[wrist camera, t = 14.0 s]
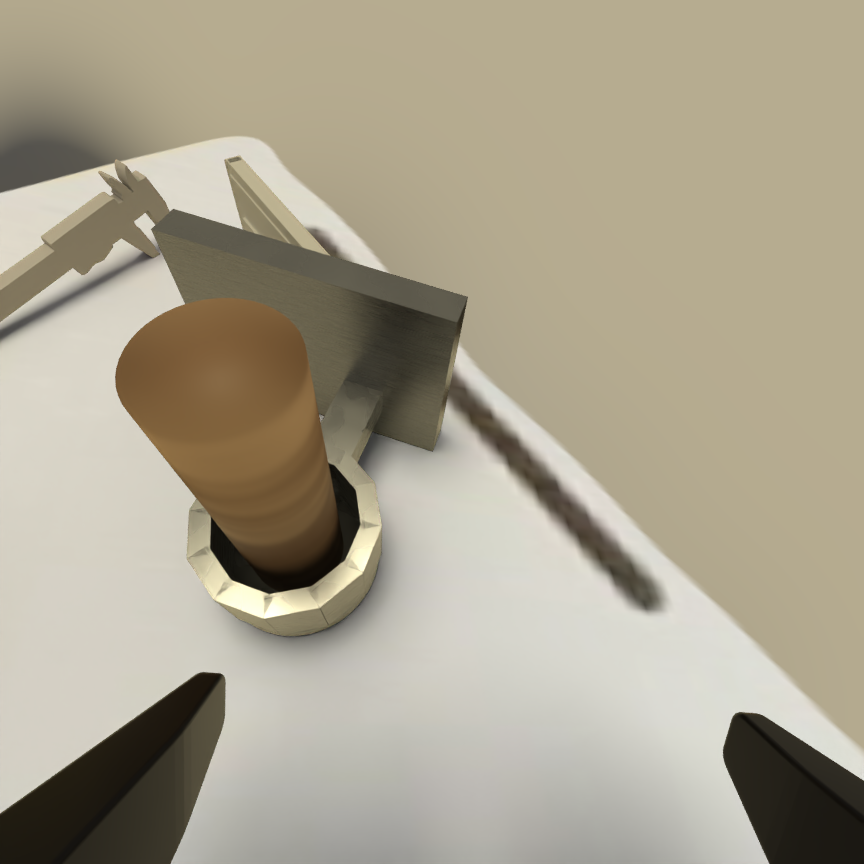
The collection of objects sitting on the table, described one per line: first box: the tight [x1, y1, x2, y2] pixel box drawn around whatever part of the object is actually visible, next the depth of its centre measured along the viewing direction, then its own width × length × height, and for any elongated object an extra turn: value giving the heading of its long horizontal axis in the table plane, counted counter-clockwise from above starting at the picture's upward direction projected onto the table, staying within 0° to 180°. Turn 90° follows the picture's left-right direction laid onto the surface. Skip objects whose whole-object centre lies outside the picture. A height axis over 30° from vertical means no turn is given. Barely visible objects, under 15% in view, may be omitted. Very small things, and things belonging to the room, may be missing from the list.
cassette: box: [225, 156, 330, 256], centre depth 28 cm, size 12×2×8 cm, turn 37°
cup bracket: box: [151, 209, 468, 636], centre depth 20 cm, size 13×13×10 cm
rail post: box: [115, 298, 344, 592], centre depth 16 cm, size 4×4×13 cm
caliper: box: [0, 159, 169, 322], centre depth 27 cm, size 20×1×6 cm, turn 143°
